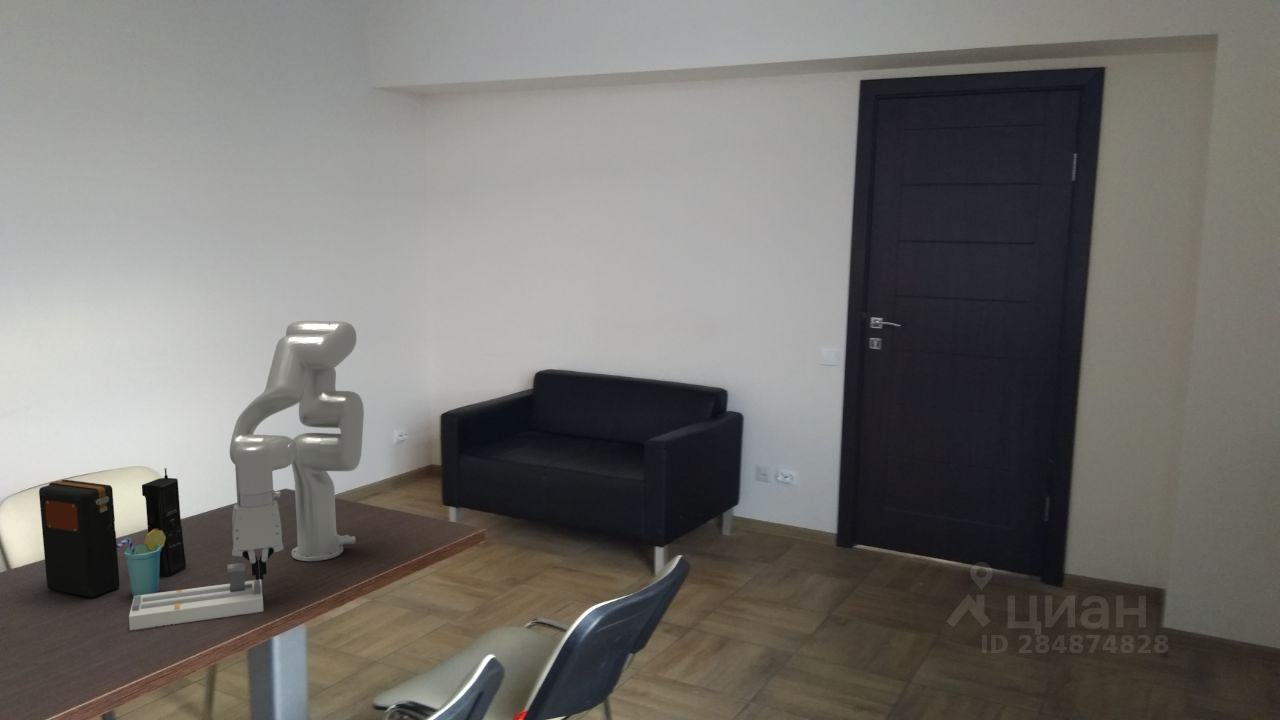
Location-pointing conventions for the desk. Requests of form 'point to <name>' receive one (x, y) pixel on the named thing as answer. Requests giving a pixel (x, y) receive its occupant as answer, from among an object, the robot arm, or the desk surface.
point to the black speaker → (79, 537)
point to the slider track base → (194, 605)
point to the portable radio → (166, 521)
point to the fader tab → (236, 576)
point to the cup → (144, 563)
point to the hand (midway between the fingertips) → (259, 577)
